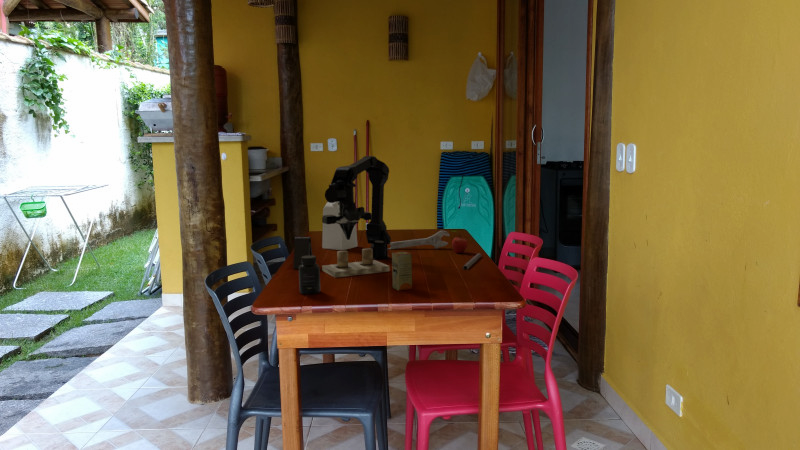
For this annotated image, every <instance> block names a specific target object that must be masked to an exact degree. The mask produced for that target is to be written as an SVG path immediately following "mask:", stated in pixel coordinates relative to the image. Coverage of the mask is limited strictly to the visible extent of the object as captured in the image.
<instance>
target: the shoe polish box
mask: <svg viewBox="0 0 800 450" xmlns="http://www.w3.org/2000/svg"><path fill="white" fill-rule="evenodd" d="M412 255H413V254H412V253H410V252H408V251H407V250H406V251H395V252H391V269H392V272H391V273H392V279H391V280H392V288H393V289H395V290H396V291H405V290H406V291H407V290H409V291H410V290H413V270H412V269H413V265H412V263H413V262H412V260H413V259H412Z"/></svg>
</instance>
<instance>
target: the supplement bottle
mask: <svg viewBox="0 0 800 450" xmlns="http://www.w3.org/2000/svg"><path fill="white" fill-rule="evenodd" d="M301 263H302V265H300V266H299V269H298V280H299V281H298V282H299V283H298V284H299V285H298V286H299V293H300V294H302V295H309V296H310V295H316V294H319V293H320V292H321V269H320V265H318V263H317V256H316V255H313V256H303V257H301Z"/></svg>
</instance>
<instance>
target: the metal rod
mask: <svg viewBox="0 0 800 450" xmlns="http://www.w3.org/2000/svg"><path fill="white" fill-rule="evenodd" d="M481 257H482V254H481V253H480V252H479V253H476V255H474V256H473V257H472V258H470V260H468V261H467V262H466V263H465V264H464V265H463V266H462V269H463V271H464V270H465V271H466V270H467V271H468V270H469V269H470V268H471V267H472V266H473V265H474V264H475V263H476V262H477V261H478V260H480V258H481Z"/></svg>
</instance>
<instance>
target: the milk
mask: <svg viewBox="0 0 800 450" xmlns="http://www.w3.org/2000/svg"><path fill="white" fill-rule="evenodd" d="M339 213H340V211H339V205H338V202H334V203H329V202H328V201H326V204H325V205H324V207H323V209H322V217H323V216H324V215H334V216H340V215H339ZM347 221H348V220H347ZM337 222H338V221H337ZM357 233H358V232H357V224H356V225H355V226H354V228H353V230H352V233H351V237H350V240H347V239H346V237H345V234H344V232H343V230H342V228H341V227H340V225H339V224H337V223H335V224H325V223H322V234H321V235H322V236H321V237H322V239H321V240H322V243H321V247H322V249H326V250H327V249H328V250H336V251H347V250H348V249H349V250H350V249H353V248H356V247H358V234H357Z"/></svg>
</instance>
